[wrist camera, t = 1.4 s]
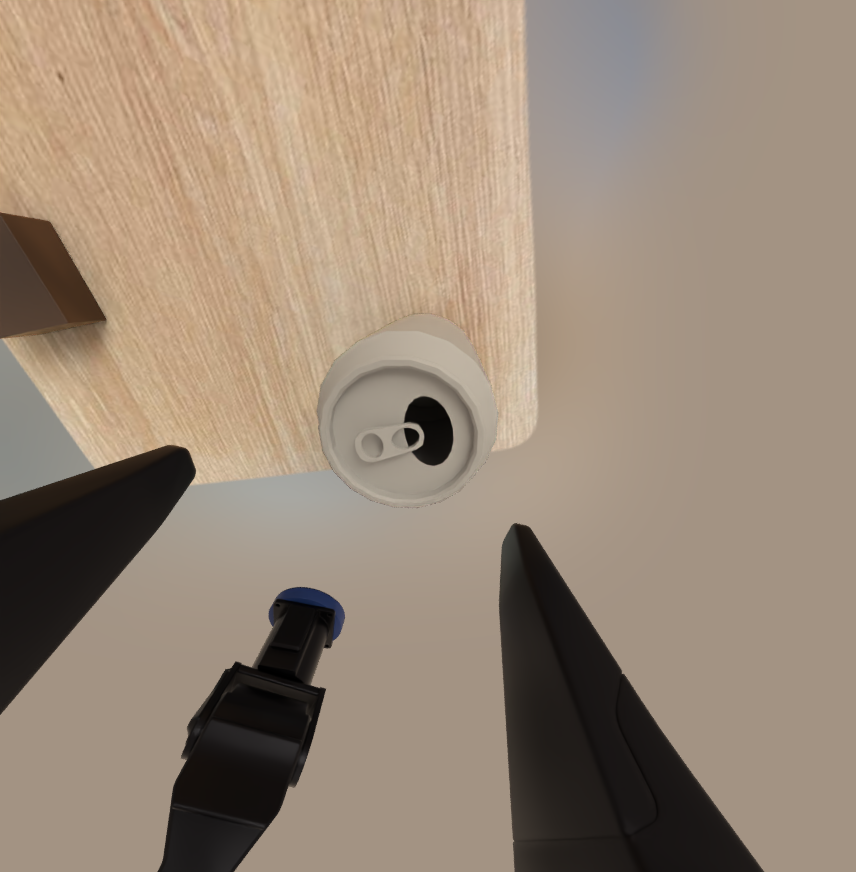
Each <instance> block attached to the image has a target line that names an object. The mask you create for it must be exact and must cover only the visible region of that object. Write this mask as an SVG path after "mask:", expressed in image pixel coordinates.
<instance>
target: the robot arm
mask: <svg viewBox="0 0 856 872" xmlns="http://www.w3.org/2000/svg"><path fill="white" fill-rule="evenodd" d="M195 474H196V469H195V466H194V463H193V461H192V458H191V455H190V453H189V451H188V450H187V449H186V448H183V447H179V446H175V445H167V446H164V447H161V448H158V449H155V450H152V451H149V452H146V453H143V454H140V455H137V456H134V457H131V458H128V459H124V460H121V461H118V462H115V463H112V464H109V465H106V466H103V467H100V468H97V469H94V470H91V471H88V472H85V473H82V474H79V475H76V476H73V477H70V478H67V479H64V480H61V481H58V482H55V483H52V484H49V485H46V486H43V487H40V488H36V489H34V490H31V491H27V492H24V493H22V494H18V495H15V496H12V497H9V498H6V499H3V500H0V715H1V713H2V712H3V711H4V710H5V709H6V708H7V706H8V705H9V704H10V703H11V702H12V700H13V699H14V698H15V697H16V696H17V695H18V693H19V692H20V691H21V690H22V689H23V688H24V686H25V685H26V684H27V683H28V682H29V680H30V679H31V678H32V677H33V676H34V674H35V673H36V672H37V671H38V670H39V669H40V667H41V666H42V665H43V664H44V663H45V661H46V660H47V659H48V658H49V657H50V656H51V655H52V653H53V652H54V651H55V650H56V649H57V648H58V646H59V645H60V644H61V643H62V642H63V640H64V639H65V638H66V637H67V636H68V635H69V633H70V632H71V631H72V630H73V629H74V628H75V626H76V625H77V624H78V623H79V622H80V620H81V619H82V618H83V617H84V616H85V615H86V613H87V612H88V611H89V610H90V608H92V606H93V605H94V604H95V603H96V602H97V600H98V599H99V598H100V597H101V596H102V595H103V593H104V592H105V591H106V590H107V589H108V588H109V586H110V585H111V584H112V583H113V582H114V581H115V579H116V578H117V577H118V576H119V575H120V573H121V572H122V571H123V570H124V569H125V567H126V566H127V565H128V564H129V563H130V562H131V560H132V559H133V558H134V557H135V556H136V555H137V553H138V552H139V551H140V550H141V549H142V548H143V546H144V545H145V544H146V543H147V542H148V540H149V539H150V538H151V537H152V536H153V535H154V533H155V532H156V531H157V530H158V528H159V527H160V526H161V525H162V523H163V522H164V520H165V519H166V518H167V516H168V515H169V513H170V512H171V511H172V509H173V507H174V506H175V505H176V503H177V502H178V500H179V499H180V498H181V496H182V495H183V493H184V492H185V491H186V489H187V488H188V486H189V485H190V483H191V482H192V480H193V479H194V477H195ZM335 614H336V611H335V610H334V609H331V608H326V607H320V606H315V605H310V604H305V603H299V602H294V601H289V600H284V599H276V600H275V601H274V603H273V616H274V626H273V628H272V630H271V632H270V634H269V636H268V638H267V639H266V642H265V643H264V645H263V647H262V649H261V651H260V653H259V655H258V657H257V658H256V660H255V662H254V664H253V666H252V667H249V666H245V665H242V664H241V663H240V662H235V663H234V665H233V666H232V668H230V669H225V671H224V673H223V674H222V676H221V678H220V680H219V681H218V683H217V685H216V686H215V688H214V689H213V691H212V692H211V694H210V695H209V696H208V698H207V699H206V701H205V702H204V703H203V704H202V706H201V707H200V708H199V710H198V711H197V712H196V714H195V715H194V717H193V718H192V719H191V721H190V722H189V724H188V726H187V731H188V738H187V741H186V746H185V748H184V750H183V753H182V756H181V758H182V759H185V760H187V761H186V762H185V764H184V766H183V768H182V770H181V772H180V774H179V775H178V777H177V779H176V781H175V784H174V787H173V793H172V799H171V806H170V814H169V821H168V828H167V835H166V843H165V849H164V856H163V861H162V864H161V866H160V868H159V870H158V872H234V871H235V869H236V868H237V867H238V865H239V864H240V863H241V862H242V860H243V859H244V858H245V856H246V855H247V854H248V852H249V851H250V850H251V848H252V847H253V846H254V844H255V843H256V842H257V841H258V839H259V838H260V837H261V835H262V834H263V833H264V831H265V830H266V829H267V827H268V826H269V825H270V823H271V822H272V821H273V819H274V818H275V817H276V816H277V814H278V812H279V811H280V808H281V806H282V804H283V801H284V798H285V795H286V791H287V789H288V786H289V787H293V788H294V787H295V786H296V784H297V782H298V780H299V777H300V775H301V772H302V770H303V767H304V764H305V761H306V759H307V755H308V752H309V749H310V746H311V743H312V739H313V736H314V732H315V728H316V725H317V721H318V717H319V713H320V709H321V706H322V702H323V698H324V694H325V691H326V689H325V688H321V687H320V688H318V687H314V686H311V682H312V679H313V676H314V674H315V670H316V668H317V665H318V662H319V659H320V657H321V654H322V651H323V648H331V646H332V643H333V634H334V624H335ZM499 614H500V631H501V647H502V664H503V680H504V696H505V697H504V698H505V715H506V731H507V747H508V762H509V763H508V764H509V780H510V798H511V814H512V830H513V840H514V842H513V850H514V868H515V872H764V871H763V869H762V868H761V867H760V866H759V864H758V863H757V862H756V860H755V859H754V857H753V856H752V855H751V853H750V852H749V850H748V849H747V848H746V846H745V845H744V844H743V842H742V841H741V840H740V838H739V837H738V835H737V834H736V833H735V831H734V830H733V829H732V827H731V826H730V824H729V823H728V822H727V820H726V819H725V818H724V816H723V815H722V814H721V812H720V811H719V810H718V808H717V807H716V805H715V804H714V803H713V801H712V800H711V798H710V797H709V796H708V794H707V793H706V792H705V790H704V789H703V788H702V786H701V785H700V784H699V782H698V781H697V779H696V778H695V777H694V776H693V774H692V773H691V771H690V770H689V768H688V767H687V766H686V764H685V763H684V761H683V760H682V759H681V757H680V756H679V755H678V753H677V752H676V750H675V749H674V747H673V746H672V745H671V743H670V742H669V740H668V739H667V738H666V736H665V735H664V733H663V732H662V731H661V729H660V728H659V726H658V725H657V723H656V722H655V720H654V719H653V717H652V716H651V714H650V713H649V711H648V710H647V708H646V707H645V705H644V704H643V702H642V701H641V699H640V698H639V696H638V695H637V693H636V691H635V690H634V688H633V687H632V685H631V684H630V682H629V681H628V679H627V677H626V676H625V675H624V674H622V670H621V669H620V667H619V665H618V664H617V662H616V661H615V659H614V658H613V656H612V654H611V653H610V651H609V650H608V648H607V647H606V645H605V643H604V642H603V640H602V639H601V637H600V636H599V634H598V633H597V631H596V629H595V628H594V627H593V625H592V623H591V622H590V620H589V619H588V617H587V615H586V614H585V612H584V611H583V609H582V608H581V606H580V605H579V603H578V602H577V600H576V599H575V597H574V595H573V594H572V592H571V591H570V589H569V587H568V586H567V584H566V583H565V581H564V580H563V578H562V577H561V575H560V573H559V572H558V570H557V569H556V567H555V566H554V564H553V563H552V561H551V559H550V558H549V557H548V555H547V553H546V552H545V550H544V549H543V547H542V546H541V544H540V542H539V541H538V539H537V538H536V536H535V535H534V533H533V531H532V530H531V528H530V527H528V526H526V525H521V524H517V523H515V524H513V525H512V526H511V528H510V530H509V532H508V533H507V535H506V537H505V539H504V541H503V544H502V554H501V575H500V595H499Z"/></svg>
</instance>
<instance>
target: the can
mask: <svg viewBox="0 0 856 872" xmlns="http://www.w3.org/2000/svg"><path fill="white" fill-rule="evenodd" d="M317 416H318V421H319V426H318V429H319V434H320V440H321V445H322V451H323V453H324V455H325V456H326V458H327V460H328V462H329V464H330V466H331V467H332V469H333V471H334V472H335V473H336V474H337V475H338V477H339V478H340V479H341V480H343V482H345V483H346V485H347V486H348V487H349V488H350V489H352V490H354V491H355V492H357V493H359V494H361V495H362V496H364V497H366V498H367V499H369V500H371V501H374V502H377V503H381V504H384V505H388V506H391V507H405V508H419V507H423V506H427V505H431V504H436V503H439V502H442V501H443V500H445V499H447V498H449V497H450V496H452V495H454V494H456V493H458V492H459V491H460V490H461V489H462V488H463V487H464V486H465V485H466V484H467V483H468V482H469V481H470V480H471V479H472V478H473V477H474V475H475V474H476V472H477V471H478V470H479V469H480V468H481V467H482V466H483V465H484V464H485V463H486V460H487V458H488V456H489V454H490V452H491V449H492V447H493V445H494V443H495V441H496V435H497V423H498V409H497V405H496V402H495V398H494V394H493V390H492V386H491V384H490V381H489V379H488V377H487V375H486V372H485V370H484V368H483V366H482V363H481V361H480V359H479V357H478V354H477V352H476V350H475V348H474V346H473V344H472V343H471V341H470V340H469V338H468V337H467V335H466V334H465V332H464V331H463V330H462V329H461V328H459V327H458V326H457V325H455V324H454V323H453V322H452V321H450V320H449V319H446V318H443V317H440V316H437V315H434V314H412V315H409V316H406V317H404V318H401V319H398V320H396V321H394V322H392V323H390V324H388V325H387V326H385V327H383V328H381V329H379V330H377V331H376V332H374V333H372V334H370V335H368V336H366V337H365V338H363V339H361V340H359V341H357V342H356V343H355V344H354V345H352V346H351V347H350V348H349V349H348V350H346V351H345V352H344V353H343V354H342V355H341V356H339V357H338V358H337V359H336V360H335V361H334V362H333V364H332V366H331V368H330V369H329V371H328V373H327V375H326V377H325V378H324V380H323V382H322V384H321V387H320V393H319V400H318V406H317Z"/></svg>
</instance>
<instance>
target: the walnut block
mask: <svg viewBox="0 0 856 872" xmlns="http://www.w3.org/2000/svg"><path fill="white" fill-rule="evenodd" d="M105 320H106V318H105V316H104V315H103V313H102V311H101V310H100V308H99V306H98V304H97V303H96V301H95V299H94V297H93V296H92V294H91V292H90V290H89V289H88V287H87V285H86V284H85V282H84V280H83V278H82V277H81V275H80V273H79V271H78V270H77V268H76V266H75V265H74V263H73V261H72V259H71V258H70V256H69V254H68V252H67V251H66V249H65V247H64V245H63V244H62V242H61V240H60V239H59V237H58V235H57V233H56V232H55V230H54V228H53V226H52V225H51V223H50V222H49V221H46V220H40V219H34V218H28V217H23V216H17V215H11V214H5V213H0V339H3V338H12V337H22V336H31V335H39V334H44V333H49V332H53V331H58V330H63V329H67V328H72V327H77V326H81V325H86V324H91V323H95V322H100V321H105Z"/></svg>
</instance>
